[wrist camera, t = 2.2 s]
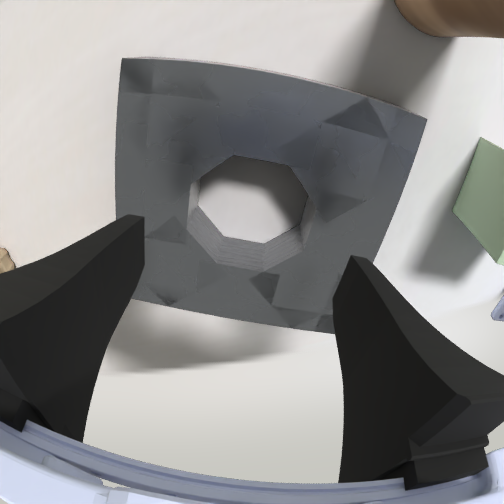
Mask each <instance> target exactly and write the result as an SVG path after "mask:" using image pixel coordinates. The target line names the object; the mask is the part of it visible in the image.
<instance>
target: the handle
mask: <svg viewBox="0 0 504 504" xmlns="http://www.w3.org/2000/svg"><path fill="white" fill-rule="evenodd" d="M13 269H14V263H13V262H12V261H11V259H10V257H9V255H8V252H7V251H6V249H5V248H0V273H4V272H7V271H10V270H13Z"/></svg>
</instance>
